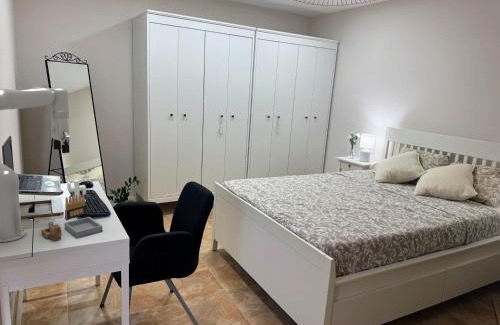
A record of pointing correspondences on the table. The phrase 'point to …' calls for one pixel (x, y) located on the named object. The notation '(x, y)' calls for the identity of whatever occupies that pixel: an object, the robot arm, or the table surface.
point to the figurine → (76, 188)
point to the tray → (83, 227)
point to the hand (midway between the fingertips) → (61, 151)
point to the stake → (50, 225)
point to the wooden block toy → (52, 233)
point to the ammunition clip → (74, 207)
